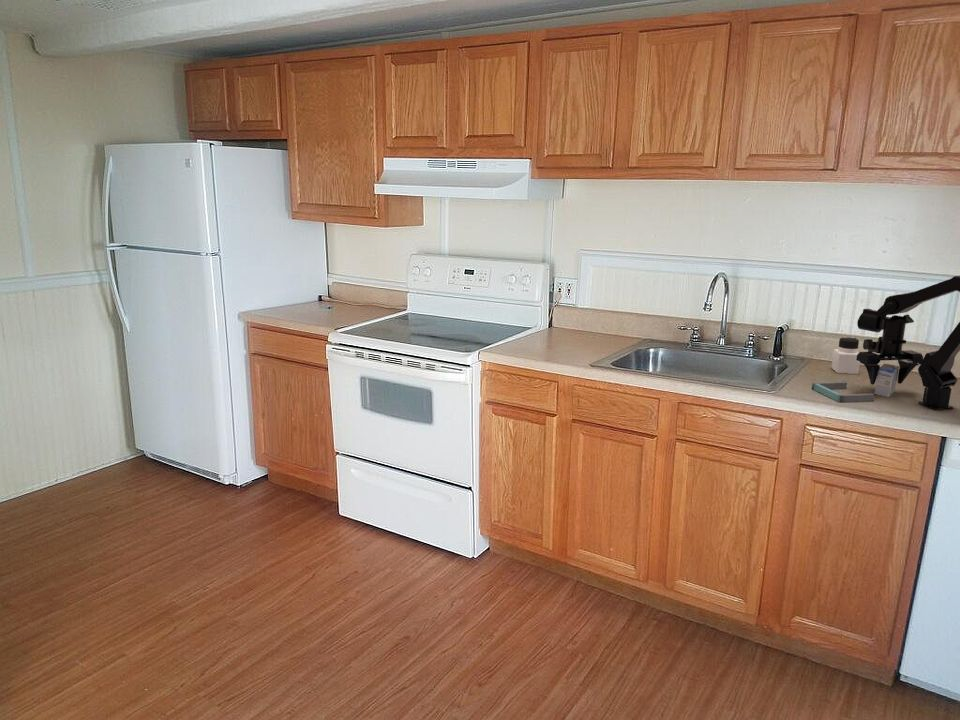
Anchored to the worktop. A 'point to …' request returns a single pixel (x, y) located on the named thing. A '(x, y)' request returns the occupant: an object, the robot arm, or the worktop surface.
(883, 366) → the medicine box
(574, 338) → the worktop surface
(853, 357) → the medicine bottle
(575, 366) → the worktop surface
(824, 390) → the frame
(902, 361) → the robot arm
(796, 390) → the worktop surface
